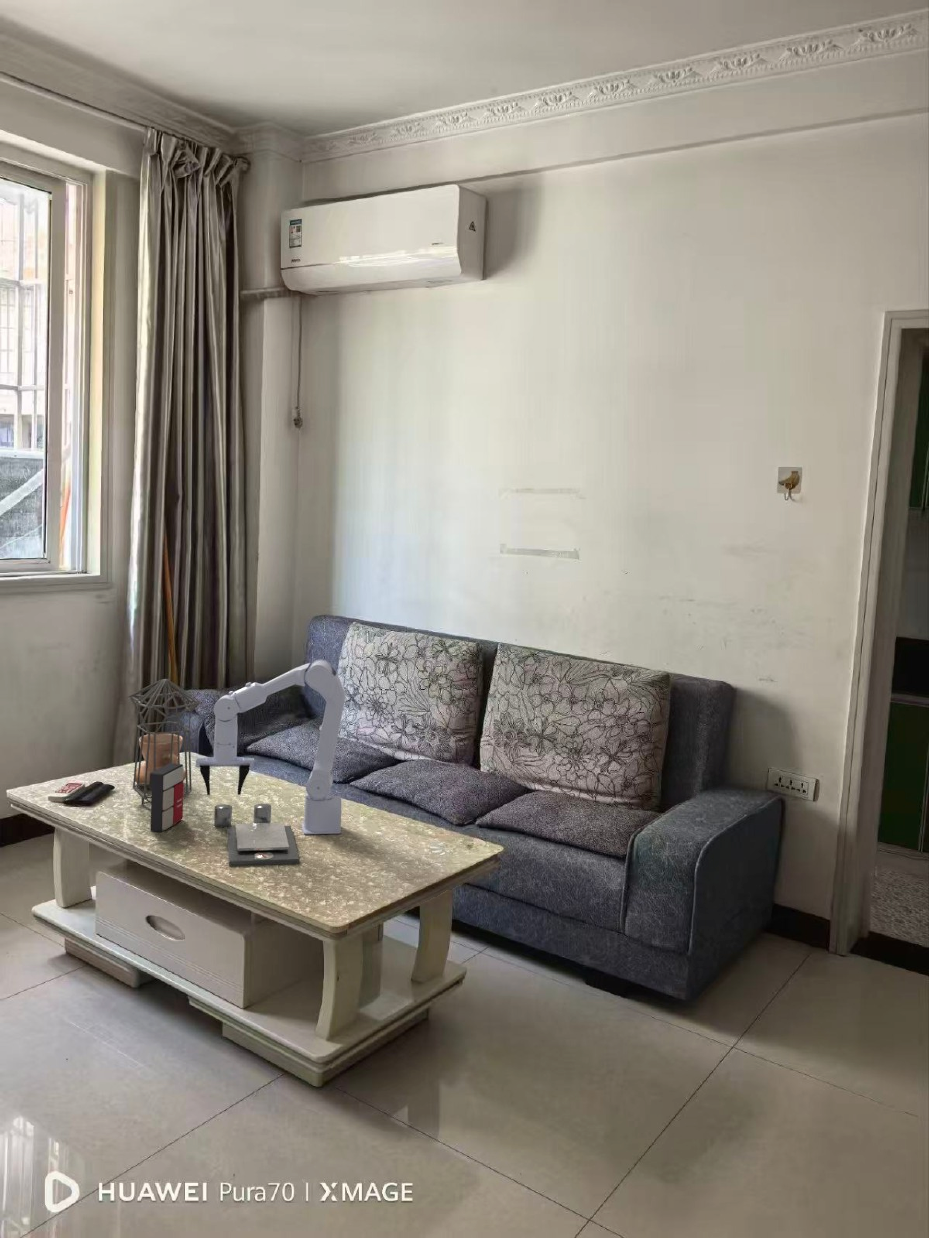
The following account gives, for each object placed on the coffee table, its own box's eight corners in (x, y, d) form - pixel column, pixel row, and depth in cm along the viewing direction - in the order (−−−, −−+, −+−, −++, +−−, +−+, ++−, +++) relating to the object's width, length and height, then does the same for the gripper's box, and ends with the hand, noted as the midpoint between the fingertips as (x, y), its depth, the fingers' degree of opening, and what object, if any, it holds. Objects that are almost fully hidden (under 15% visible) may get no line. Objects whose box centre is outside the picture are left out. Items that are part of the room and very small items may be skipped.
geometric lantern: (178, 794, 281) (181, 672, 277) (200, 810, 269) (204, 682, 265) (122, 802, 271) (125, 675, 267) (142, 818, 259) (146, 686, 255)
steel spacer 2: (270, 821, 263) (270, 803, 262) (271, 827, 259) (271, 808, 258) (253, 822, 262) (253, 803, 261) (253, 827, 258) (254, 808, 257)
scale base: (290, 830, 257) (290, 824, 257) (298, 863, 234) (299, 857, 234) (227, 831, 253) (227, 825, 253) (229, 866, 230) (229, 859, 230)
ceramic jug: (124, 781, 290) (125, 733, 289) (171, 775, 299) (173, 729, 298) (147, 797, 276) (149, 748, 275) (197, 791, 286) (198, 742, 284)
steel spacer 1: (231, 822, 260) (231, 804, 260) (231, 828, 256) (232, 809, 256) (213, 822, 259) (214, 804, 259) (214, 828, 255) (214, 809, 254)
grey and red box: (163, 833, 249) (165, 774, 248) (147, 830, 250) (149, 772, 248) (184, 820, 260) (186, 764, 258) (169, 818, 261) (170, 762, 259)
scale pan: (283, 824, 256) (283, 822, 255) (288, 849, 238) (289, 846, 238) (235, 825, 252) (235, 823, 252) (237, 850, 235) (237, 848, 235)
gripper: (253, 738, 261) (251, 788, 262) (196, 738, 257) (194, 789, 259) (255, 745, 254) (253, 796, 256) (196, 745, 250) (194, 797, 252)
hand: (223, 793), depth 257 cm, fingers open, 7 cm apart
